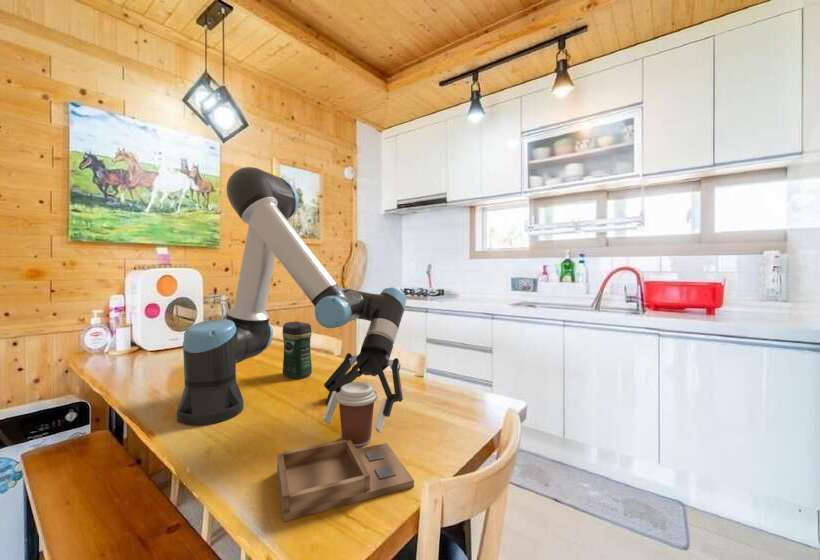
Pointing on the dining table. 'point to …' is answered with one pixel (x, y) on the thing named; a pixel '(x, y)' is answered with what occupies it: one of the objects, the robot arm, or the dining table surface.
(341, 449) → the wooden tray
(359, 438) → the coffee cup
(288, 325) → the coffee jar
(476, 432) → the dining table surface
